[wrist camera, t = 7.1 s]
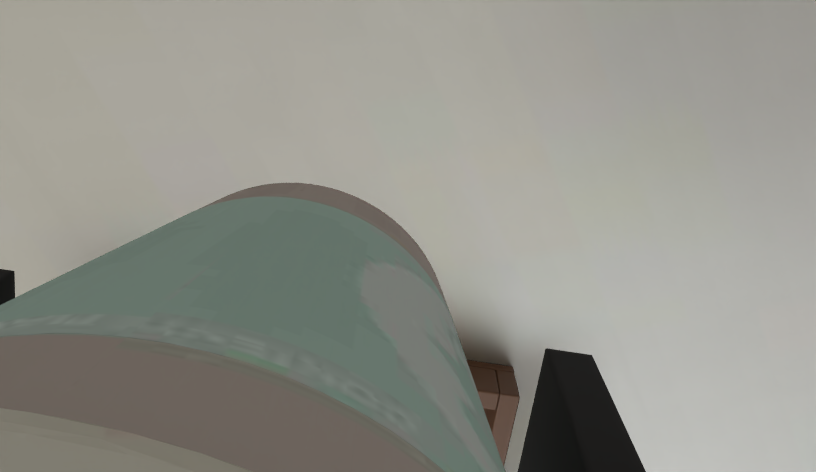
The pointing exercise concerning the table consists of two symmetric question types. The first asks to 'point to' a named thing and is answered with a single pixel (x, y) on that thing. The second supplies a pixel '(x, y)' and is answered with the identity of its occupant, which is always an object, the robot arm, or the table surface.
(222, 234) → the coffee cup
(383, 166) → the table surface
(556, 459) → the robot arm
